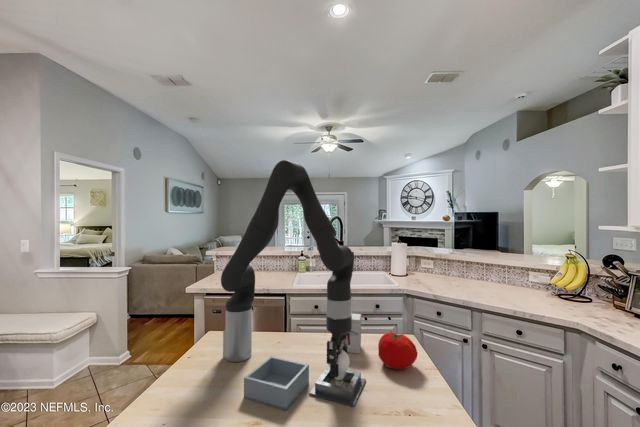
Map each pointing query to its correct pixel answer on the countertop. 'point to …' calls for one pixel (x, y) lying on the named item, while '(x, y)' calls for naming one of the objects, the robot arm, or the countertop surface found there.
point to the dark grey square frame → (339, 388)
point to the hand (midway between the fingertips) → (339, 368)
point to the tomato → (396, 351)
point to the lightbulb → (342, 368)
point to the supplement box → (355, 334)
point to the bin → (276, 382)
